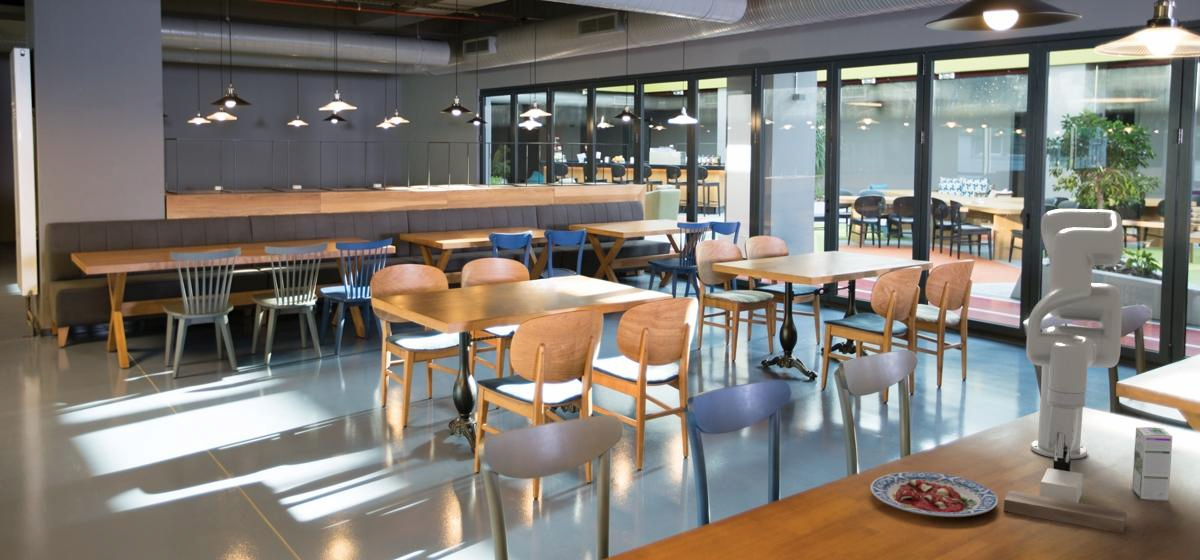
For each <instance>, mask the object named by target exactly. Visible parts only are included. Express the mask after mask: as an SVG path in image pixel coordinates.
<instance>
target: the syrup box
mask: <svg viewBox="0 0 1200 560" xmlns="http://www.w3.org/2000/svg"><path fill="white" fill-rule="evenodd" d="M1134 438H1135V441H1134V454H1133V455H1134V456H1133V457H1134V458H1133V468H1132V469H1133V471H1132V491H1133V492H1134V493H1135V494H1136V495H1137V496H1138V497H1139V498H1140V499H1141V500H1148V501H1169V497H1170V496H1169V495H1170V486H1171V483H1170V482H1171V469H1172V468H1171V465H1172V452H1173V451H1172V448H1173V435H1172V434H1170V433H1169V432H1168V431H1166V430H1165V429H1164V428H1162V427H1161V428H1160V427H1153V426H1152V427H1148V426H1147V427H1144V426H1143V427H1136V428H1135V437H1134Z"/></svg>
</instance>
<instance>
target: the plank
mask: <svg viewBox="0 0 1200 560" xmlns="http://www.w3.org/2000/svg"><path fill="white" fill-rule="evenodd" d="M1007 511H1008V512H1009V513H1012V512H1013V514H1018V515H1023V516H1028V517H1029V516H1030V517H1035V518H1040V519H1045V520H1050V521H1056V522H1062V523H1064V524H1071V525H1076V526H1083V527H1087V528H1093V529H1097V530H1104V531H1109V532H1114V533H1119V534H1124V532H1125V528H1126V524H1127V516H1128V515H1127V513H1128V511H1126V510H1120V509H1115V508H1109V507H1105V506H1099V505H1093V504H1088V503H1081V502H1078V503H1077V502H1071V501H1065V500H1060V499H1054V498H1049V497H1043V496H1040V495H1036V494H1031V493H1025V492H1019V491H1013V490H1009V491H1008V493H1007V494H1006V496H1005V498H1004V502H1003V512H1007Z"/></svg>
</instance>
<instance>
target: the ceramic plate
mask: <svg viewBox="0 0 1200 560" xmlns="http://www.w3.org/2000/svg"><path fill="white" fill-rule="evenodd" d="M870 491H871V493H872V495H873V496H874V497H875V498H876V499H878V500H879V501H881V502H882V503H885V504H886V505H888V506H891V507H893V508H896V509H899V510H902V511H906V512H910V513H914V514H918V515H923V516H932V517H942V518H943V517H945V518H951V517H952V518H961V517H971V516H977V515H982V514H985V513H987V512H990V511H991V510H994V509H995V507H996V506H997V505H998V501H999V499H998V496H997V495H996V494H995V493H994V492H993V490H991V489H989V488H988V487H986V486H985V485H983V484H980V483H978V482H976V481H973V480H970V479H967V478H964V477H960V476H955V475H951V474H946V473H938V472H937V473H936V472H928V471H904V472H895V473H889V474H885V475H882V476H880V477H878V478H875V479H874V480H873V481H872V483H870ZM893 493H894V494H895V497H896V498H895V500H896V501H895V500H894V498H893V496H892V495H893ZM898 502H899V503H898ZM901 503H903V504H906V505H910V504H911V506H913V507H915V508H916V509H915V508H910V507H907V506H904V505H901Z"/></svg>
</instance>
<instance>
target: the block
mask: <svg viewBox="0 0 1200 560" xmlns="http://www.w3.org/2000/svg"><path fill="white" fill-rule="evenodd" d="M1083 480H1084V473H1080V472H1075V471H1070V472H1069V471H1063V470H1057V469H1053V468H1050V467H1047V469H1046V471H1045V472H1044V475H1043V477H1042V479H1041V480H1040V490H1039V496H1043V497H1049V498H1054V499H1060V500H1065V501H1071V502H1077V503H1080V499H1081V496H1082V494H1083V493H1082V492H1083Z"/></svg>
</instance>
